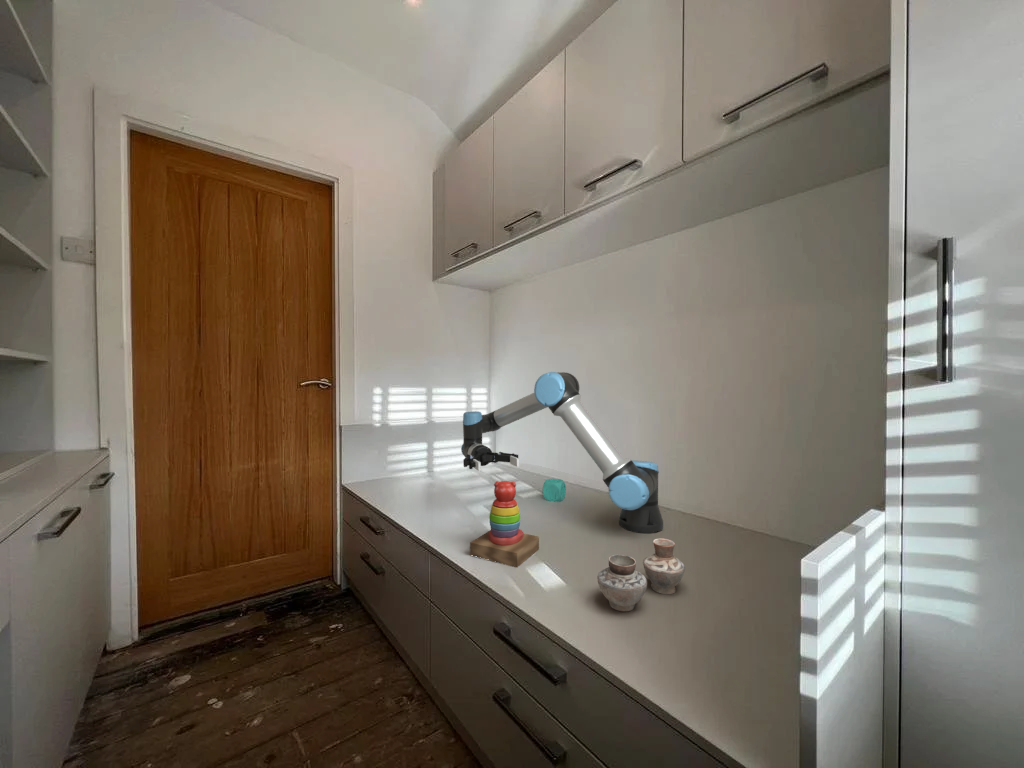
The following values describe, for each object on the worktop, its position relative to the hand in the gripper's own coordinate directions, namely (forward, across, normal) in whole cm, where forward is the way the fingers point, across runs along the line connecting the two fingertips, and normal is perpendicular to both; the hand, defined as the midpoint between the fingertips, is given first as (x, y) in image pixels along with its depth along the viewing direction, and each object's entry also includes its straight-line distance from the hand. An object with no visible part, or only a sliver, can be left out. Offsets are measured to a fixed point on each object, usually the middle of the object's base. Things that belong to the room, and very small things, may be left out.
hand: (499, 464), depth 141 cm
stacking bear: (+13, +3, -20) cm, 24 cm away
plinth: (+13, +3, -24) cm, 27 cm away
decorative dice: (-31, -36, -24) cm, 53 cm away
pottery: (+49, -19, -25) cm, 58 cm away
